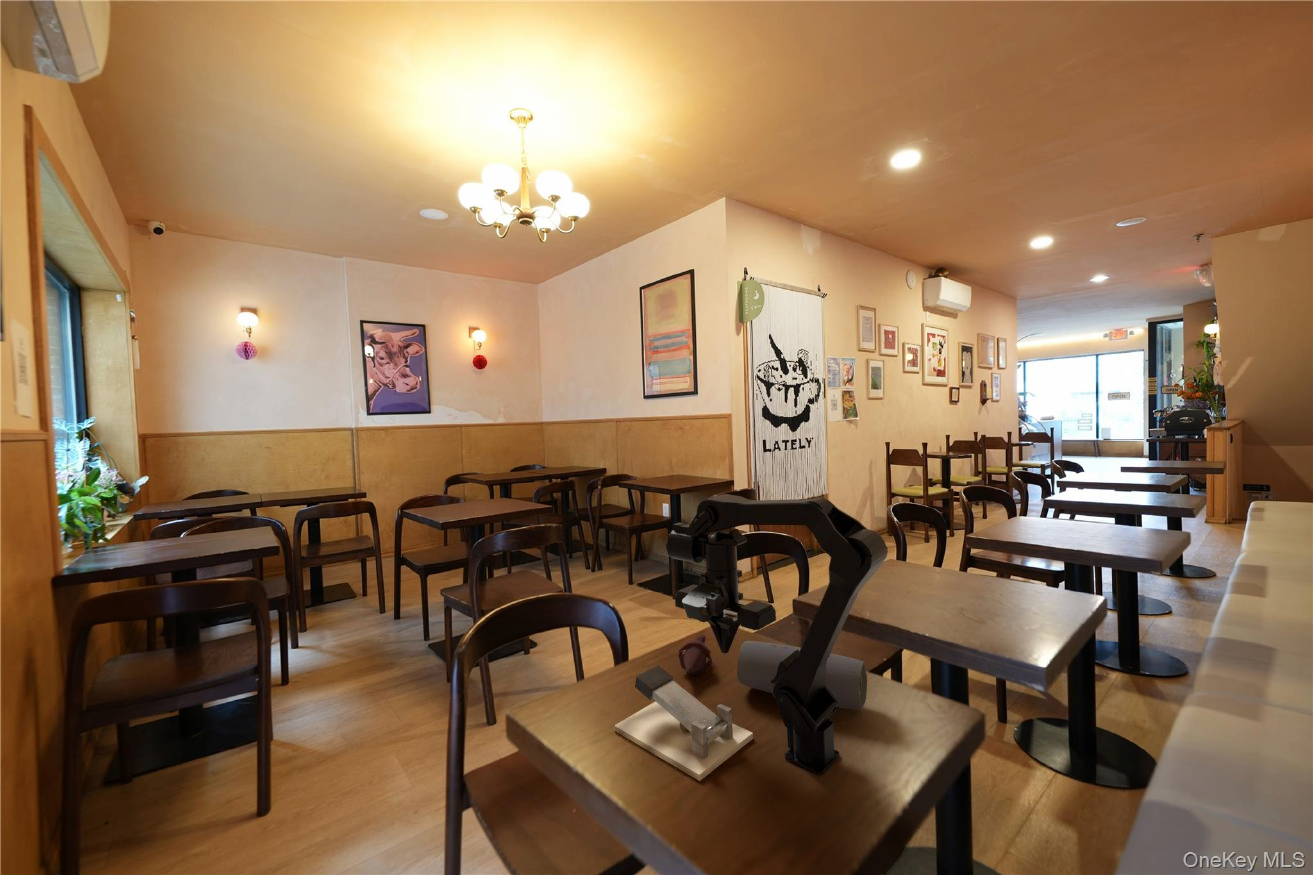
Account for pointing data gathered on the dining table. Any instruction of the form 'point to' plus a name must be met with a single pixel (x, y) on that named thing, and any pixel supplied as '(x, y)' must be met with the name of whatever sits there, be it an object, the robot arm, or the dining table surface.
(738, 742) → the nutcracker board
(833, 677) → the bluetooth speaker
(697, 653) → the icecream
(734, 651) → the dining table surface
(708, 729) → the lever
